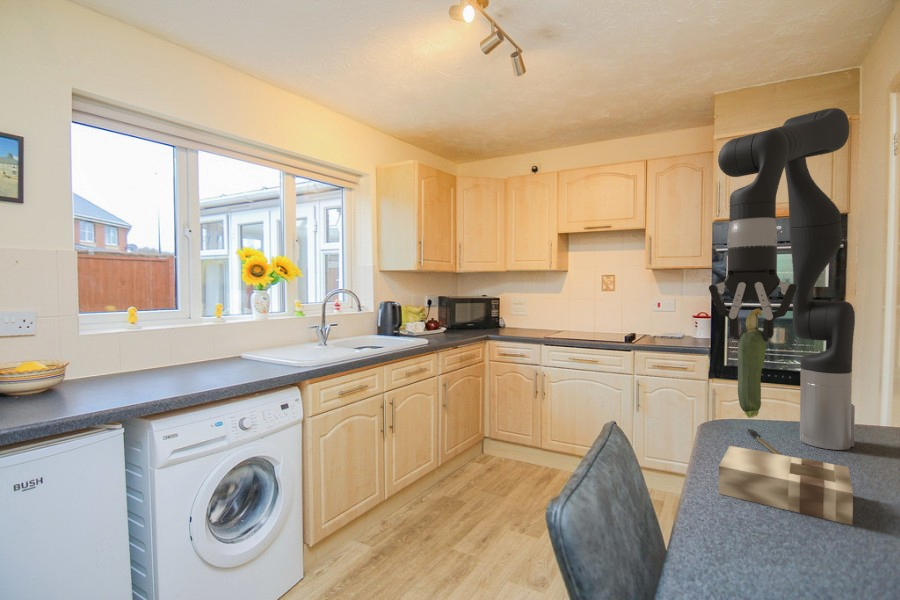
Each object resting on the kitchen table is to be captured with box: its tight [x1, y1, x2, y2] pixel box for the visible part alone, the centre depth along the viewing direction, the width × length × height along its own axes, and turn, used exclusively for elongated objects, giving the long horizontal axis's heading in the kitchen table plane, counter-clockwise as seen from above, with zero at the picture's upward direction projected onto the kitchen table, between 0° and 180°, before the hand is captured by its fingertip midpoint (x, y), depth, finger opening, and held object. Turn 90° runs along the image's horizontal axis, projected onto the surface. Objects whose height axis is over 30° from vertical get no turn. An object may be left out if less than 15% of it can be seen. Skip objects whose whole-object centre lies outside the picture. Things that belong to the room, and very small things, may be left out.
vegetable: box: [737, 307, 767, 419], centre depth 84 cm, size 4×4×20 cm
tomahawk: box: [747, 428, 783, 455], centre depth 105 cm, size 21×7×1 cm, turn 163°
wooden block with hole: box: [718, 445, 854, 526], centre depth 82 cm, size 18×13×5 cm
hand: (750, 339), depth 84 cm, fingers closed on vegetable, 4 cm apart
